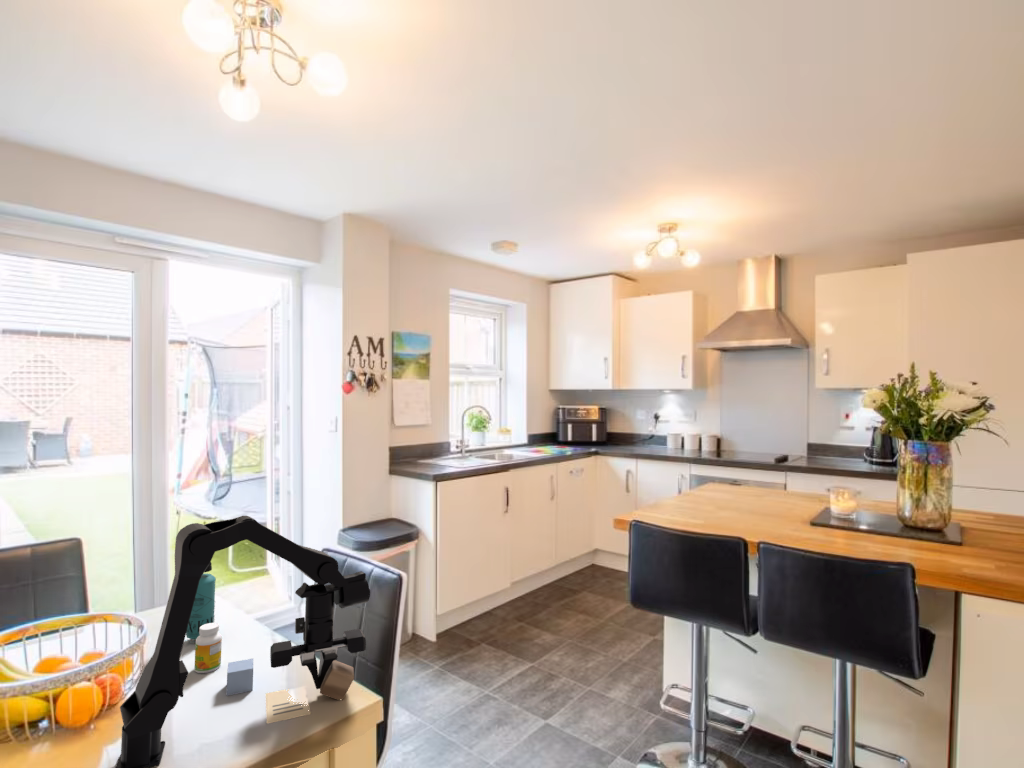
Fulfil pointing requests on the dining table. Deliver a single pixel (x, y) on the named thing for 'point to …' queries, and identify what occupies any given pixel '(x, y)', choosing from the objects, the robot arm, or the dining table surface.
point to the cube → (240, 676)
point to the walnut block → (337, 680)
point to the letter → (283, 707)
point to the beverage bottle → (202, 605)
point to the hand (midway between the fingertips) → (317, 688)
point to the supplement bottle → (208, 648)
